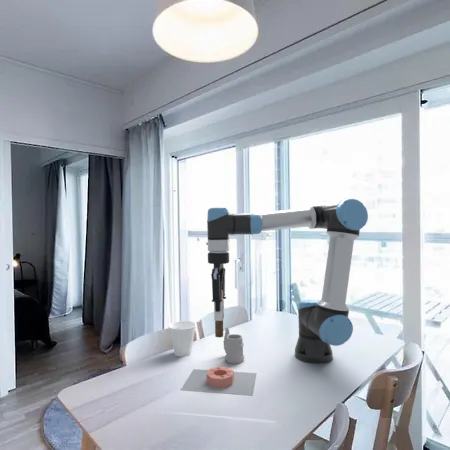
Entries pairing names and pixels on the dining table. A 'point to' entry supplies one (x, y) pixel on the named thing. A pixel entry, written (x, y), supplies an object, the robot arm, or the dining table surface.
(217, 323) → the brown wooden bar
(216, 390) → the mat
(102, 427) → the dining table surface
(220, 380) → the bead
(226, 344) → the mug
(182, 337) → the cup
